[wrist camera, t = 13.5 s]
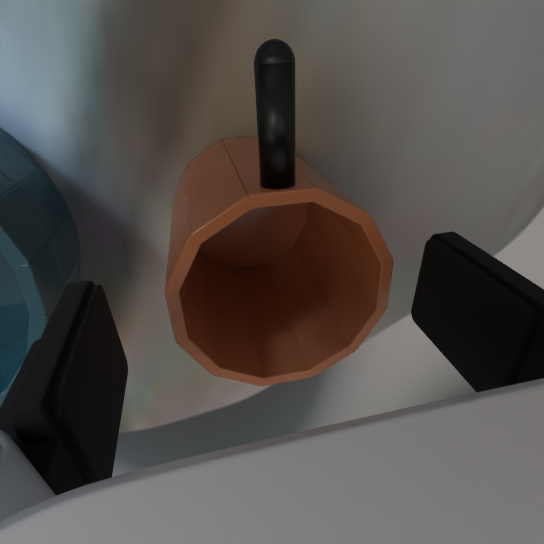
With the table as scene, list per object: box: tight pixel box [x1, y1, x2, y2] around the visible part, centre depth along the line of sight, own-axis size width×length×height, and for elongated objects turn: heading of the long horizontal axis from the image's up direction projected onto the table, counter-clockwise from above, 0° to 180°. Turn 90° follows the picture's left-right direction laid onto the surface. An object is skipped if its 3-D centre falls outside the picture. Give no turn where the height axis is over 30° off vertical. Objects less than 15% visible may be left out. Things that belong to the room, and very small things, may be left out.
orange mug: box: [165, 39, 393, 386], centre depth 15 cm, size 11×7×9 cm
